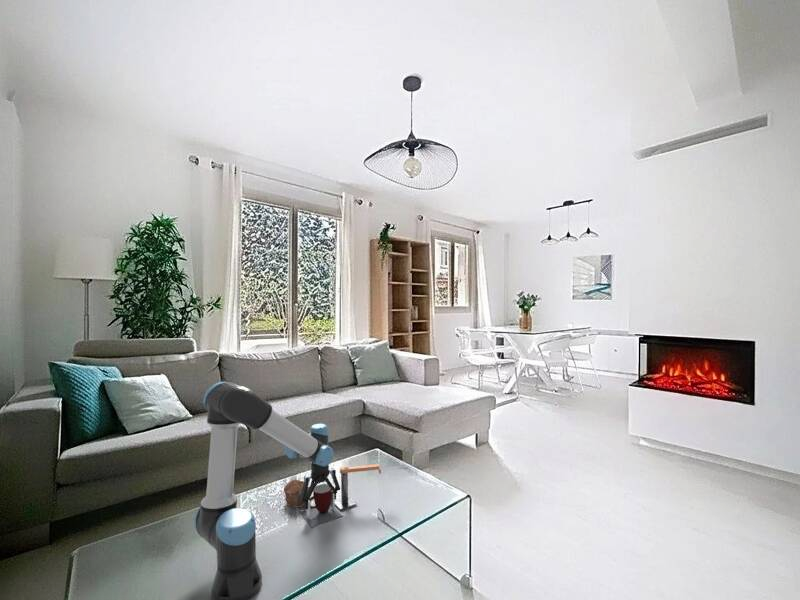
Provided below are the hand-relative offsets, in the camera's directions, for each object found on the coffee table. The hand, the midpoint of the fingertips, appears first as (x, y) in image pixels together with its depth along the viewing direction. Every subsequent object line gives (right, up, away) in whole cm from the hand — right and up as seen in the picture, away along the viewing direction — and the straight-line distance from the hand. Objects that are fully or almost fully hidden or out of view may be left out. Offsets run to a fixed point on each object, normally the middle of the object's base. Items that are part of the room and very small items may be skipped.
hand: (320, 511), depth 168 cm
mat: (0, -1, 0) cm, 1 cm away
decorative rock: (-13, -2, +10) cm, 16 cm away
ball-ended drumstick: (+16, +12, +9) cm, 22 cm away
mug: (0, -1, 0) cm, 1 cm away
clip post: (+9, -1, +8) cm, 12 cm away
